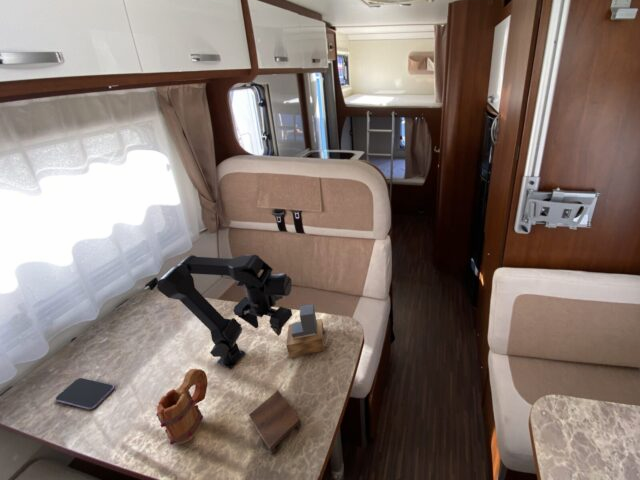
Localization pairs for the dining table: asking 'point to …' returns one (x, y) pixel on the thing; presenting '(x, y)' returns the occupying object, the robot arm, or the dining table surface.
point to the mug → (183, 408)
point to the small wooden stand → (274, 420)
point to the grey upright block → (305, 323)
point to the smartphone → (85, 393)
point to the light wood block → (305, 342)
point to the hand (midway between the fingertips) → (268, 330)
